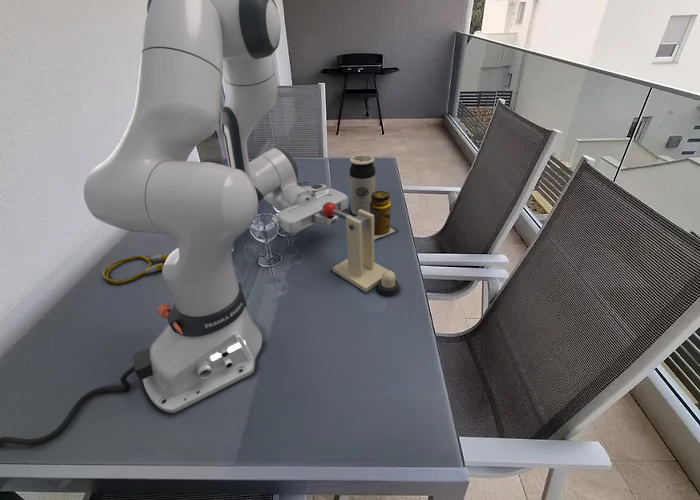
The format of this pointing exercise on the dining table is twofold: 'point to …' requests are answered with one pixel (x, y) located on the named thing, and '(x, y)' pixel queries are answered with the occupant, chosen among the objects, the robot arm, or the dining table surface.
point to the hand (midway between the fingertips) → (334, 220)
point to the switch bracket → (360, 254)
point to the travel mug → (361, 182)
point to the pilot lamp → (388, 284)
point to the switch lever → (341, 214)
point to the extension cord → (147, 270)
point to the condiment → (381, 213)
